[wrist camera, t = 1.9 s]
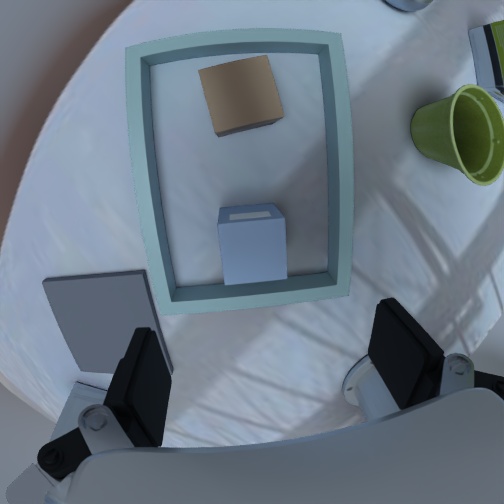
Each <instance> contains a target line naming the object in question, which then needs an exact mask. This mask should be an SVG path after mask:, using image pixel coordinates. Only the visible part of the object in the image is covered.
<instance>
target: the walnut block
mask: <svg viewBox="0 0 504 504" xmlns="http://www.w3.org/2000/svg"><path fill="white" fill-rule="evenodd" d="M198 72H199V76H200V79H201V83H202V87H203V90H204V94H205V98H206V101H207V105H208V109H209V112H210V116H211V120H212V123H213V127H214V131H215V133H216V135H217V136H218V137H221V136H225V135H229V134H232V133H236V132H240V131H244V130H248V129H252V128H257V127H261V126H266V125H270V124H273V123H275V122H276V121H278V120H280V119H281V118H283V117H284V113H283V109H282V105H281V102H280V98H279V95H278V91H277V88H276V84H275V81H274V77H273V74H272V70H271V67H270V64H269V60H268V57H267V55H263V56H258V57H252V58H247V59H242V60H237V61H233V62H228V63H224V64H220V65H216V66H212V67H208V68H205V69H201V70H198Z"/></svg>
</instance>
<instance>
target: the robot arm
mask: <svg viewBox="0 0 504 504" xmlns="http://www.w3.org/2000/svg"><path fill="white" fill-rule="evenodd" d="M443 354H444V351H443V350H442V349H441V348H440V347H439V346H438V344H437V343H436V342H435V341H434V340H433V339H432V338H431V337H430V335H429V334H428V333H427V332H426V331H425V330H424V329H423V328H422V327H421V326H420V325H419V323H418V322H417V321H416V320H415V319H414V318H413V317H412V316H411V315H410V314H409V313H408V312H407V311H406V310H405V308H404V307H403V306H402V305H401V304H400V303H399V302H398V301H397V300H396V299H395V298H387V299H382V300H381V301H380V303H379V304H377V307H376V313H375V318H374V324H373V329H372V334H371V339H370V344H369V348H368V356H366V357H365V358H363V359H362V360H361V361H360V362H359V363H357V364H356V366H355V367H354V368H353V369H352V370H351V371H350V373H349V374H348V375H347V377H346V379H345V381H344V384H343V394H344V397H345V399H346V401H347V402H348V403H350V404H351V405H354V406H360V407H361V409H362V411H363V414H364V416H365V418H366V420H367V422H364V423H360V424H357V425H353V426H350V427H346V428H342V429H338V430H334V431H330V432H325V433H321V434H316V435H311V436H306V437H300V438H295V439H289V440H282V441H275V442H268V443H260V444H251V445H240V446H225V447H198V448H168V447H161V445H162V441H163V434H164V427H165V420H166V414H167V407H168V401H169V395H170V389H171V383H172V380H171V375H170V372H169V369H168V367H167V364H166V361H165V358H164V355H163V352H162V349H161V346H160V343H159V340H158V337H157V334H156V332H155V330H151V328H150V327H137V328H136V329H135V331H134V334H133V336H132V338H131V341H130V343H129V346H128V348H127V351H126V353H125V356H124V358H122V359H120V361H119V363H118V365H117V368H116V370H115V373H114V375H113V378H112V381H111V383H110V386H109V388H108V391H107V394H106V397H105V399H104V402H103V405H101V404H93V405H91V406H88V407H86V408H85V409H84V410H83V411H82V412H81V413H80V415H79V417H78V426H79V427H77V428H75V429H73V430H72V431H70V432H68V433H66V434H64V435H62V436H61V437H59V438H57V439H55V440H53V441H51V442H49V443H47V444H45V445H44V446H43V447H42V448H41V449H40V450H39V453H38V456H37V461H38V463H37V464H36V465H35V464H33V463H32V464H31V465H30V466H29V467H28V468H27V469H26V470H25V471H24V472H23V473H22V474H21V475H20V476H19V477H18V478H16V479H15V480H14V481H13V482H12V483H11V484H10V485H9V486H8V488H7V490H6V498H7V501H8V503H9V504H504V377H502V376H497V375H493V374H488V373H483V372H480V371H475V370H474V365H473V362H472V361H471V360H470V359H469V358H468V357H467V356H465V355H463V354H458V353H454V354H450V355H448V356H447V357H445V356H444V355H443ZM158 446H160V447H158Z"/></svg>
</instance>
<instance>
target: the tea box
mask: <svg viewBox="0 0 504 504" xmlns="http://www.w3.org/2000/svg"><path fill="white" fill-rule="evenodd" d="M468 34H469V38H470V43H471V48H472V53H473V58H474V64H475V70H476V76H477V83H478V86H480V87H481V88H483V89H484V90H485V91H486V92H488V93H489V94H490V95H491V96H493V97H495V98H496V99H498V100H500V101H502V102H503V103H504V20H502V21H498V22H494V23H490V24H487V25H484V26H480V27H477V28H474V29H471V30H469V32H468Z"/></svg>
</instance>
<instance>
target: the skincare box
mask: <svg viewBox="0 0 504 504" xmlns="http://www.w3.org/2000/svg"><path fill="white" fill-rule="evenodd" d="M106 394H107V391H104V390H100V389H97V388H93V387H90V386H87V385H84V384H80V383H77V382H76V383H75V384H74V387H73V389H72V391H71V393H70V395H69V397H68V399H67V402H66V404H65V406H64V408H63V410H62V413H61V415H60V417H59V420H58V422H57V424H56V427H55V429H54V431H53V434H52V436H51V439H50V442H51V441H53V440H55V439H57V438H59V437H61V436H62V435H64V434H66V433H68V432H70V431H72V430H73V429H75V428H77V427H79V426H78V417H79V415H80V413H81V412H82V411H83V410H84V409H85V408H86V407H88V406H91V405H93V404H101V405H103V402H104V399H105V397H106Z"/></svg>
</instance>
